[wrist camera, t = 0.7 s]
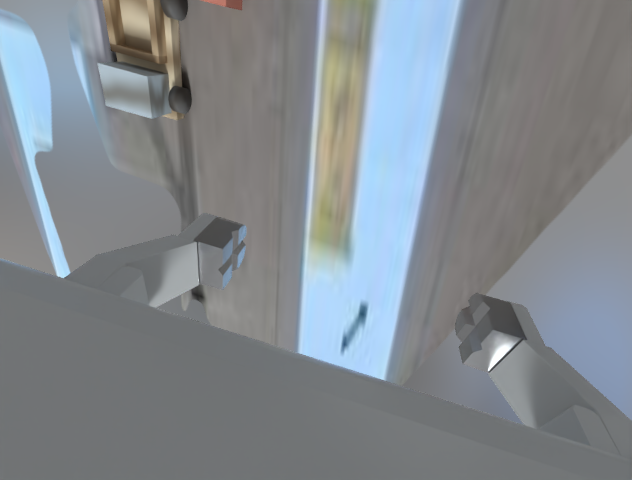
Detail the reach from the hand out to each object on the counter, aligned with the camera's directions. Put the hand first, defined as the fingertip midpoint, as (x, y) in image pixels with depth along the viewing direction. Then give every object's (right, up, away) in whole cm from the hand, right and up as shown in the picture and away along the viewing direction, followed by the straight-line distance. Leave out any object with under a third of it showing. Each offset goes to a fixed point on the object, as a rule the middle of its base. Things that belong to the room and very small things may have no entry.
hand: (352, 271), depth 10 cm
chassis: (-28, +32, +37) cm, 56 cm away
